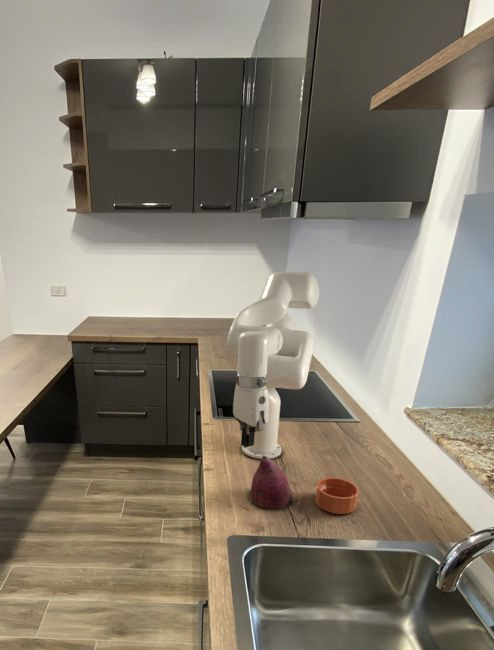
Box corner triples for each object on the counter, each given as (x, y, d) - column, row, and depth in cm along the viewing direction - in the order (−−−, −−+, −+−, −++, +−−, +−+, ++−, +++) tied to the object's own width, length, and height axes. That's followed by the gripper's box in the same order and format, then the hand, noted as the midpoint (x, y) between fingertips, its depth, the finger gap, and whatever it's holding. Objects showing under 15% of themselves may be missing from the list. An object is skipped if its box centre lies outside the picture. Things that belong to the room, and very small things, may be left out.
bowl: (306, 500, 117) (308, 483, 115) (334, 489, 121) (336, 473, 119) (336, 520, 109) (338, 502, 107) (364, 508, 113) (367, 491, 111)
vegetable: (260, 521, 114) (253, 478, 106) (245, 495, 123) (237, 454, 114) (297, 507, 115) (293, 463, 107) (280, 482, 124) (274, 440, 115)
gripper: (282, 386, 110) (276, 452, 117) (245, 372, 122) (242, 433, 129) (257, 390, 106) (253, 459, 113) (222, 375, 118) (220, 438, 125)
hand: (247, 445), depth 121 cm, fingers closed
